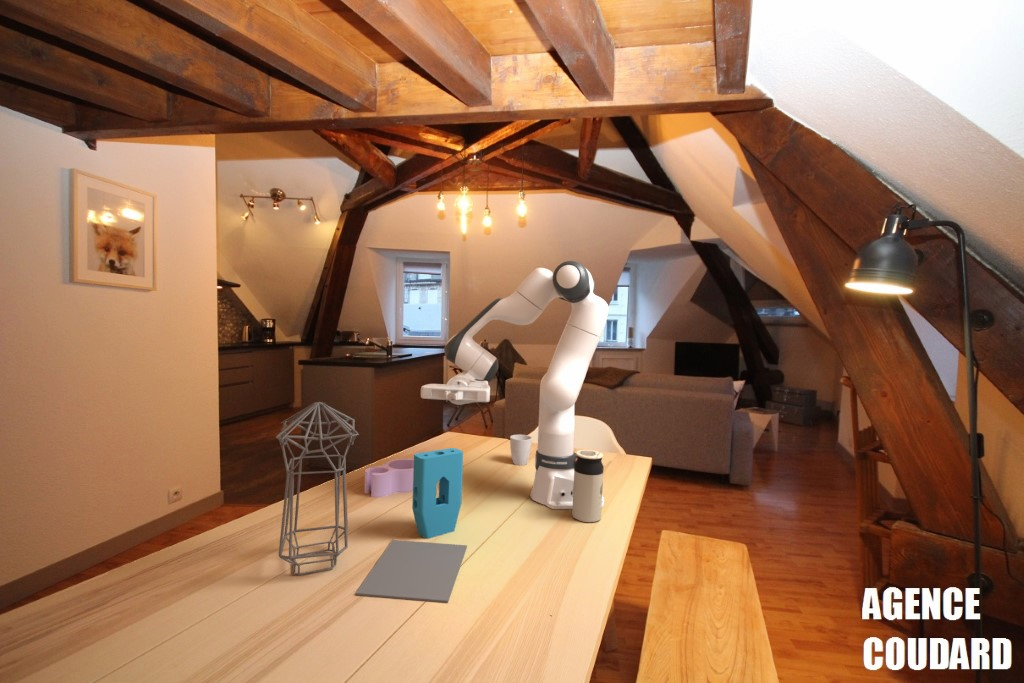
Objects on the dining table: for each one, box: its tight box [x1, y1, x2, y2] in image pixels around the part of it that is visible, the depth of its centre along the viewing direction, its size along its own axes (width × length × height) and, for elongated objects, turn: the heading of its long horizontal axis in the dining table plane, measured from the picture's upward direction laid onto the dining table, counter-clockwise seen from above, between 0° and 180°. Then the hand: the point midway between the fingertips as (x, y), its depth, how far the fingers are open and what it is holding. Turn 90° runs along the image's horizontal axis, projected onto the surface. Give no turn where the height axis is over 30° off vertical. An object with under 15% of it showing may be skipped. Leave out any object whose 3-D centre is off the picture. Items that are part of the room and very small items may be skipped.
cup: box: [509, 434, 533, 466], centre depth 177 cm, size 8×8×10 cm
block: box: [411, 447, 464, 539], centre depth 118 cm, size 12×5×20 cm, turn 127°
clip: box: [364, 457, 414, 498], centre depth 148 cm, size 20×12×7 cm, turn 138°
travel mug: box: [571, 449, 604, 523], centre depth 131 cm, size 8×8×18 cm
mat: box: [355, 539, 468, 604], centre depth 101 cm, size 18×22×1 cm
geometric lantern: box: [275, 401, 360, 577], centre depth 101 cm, size 16×16×35 cm
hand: (451, 397), depth 130 cm, fingers closed
